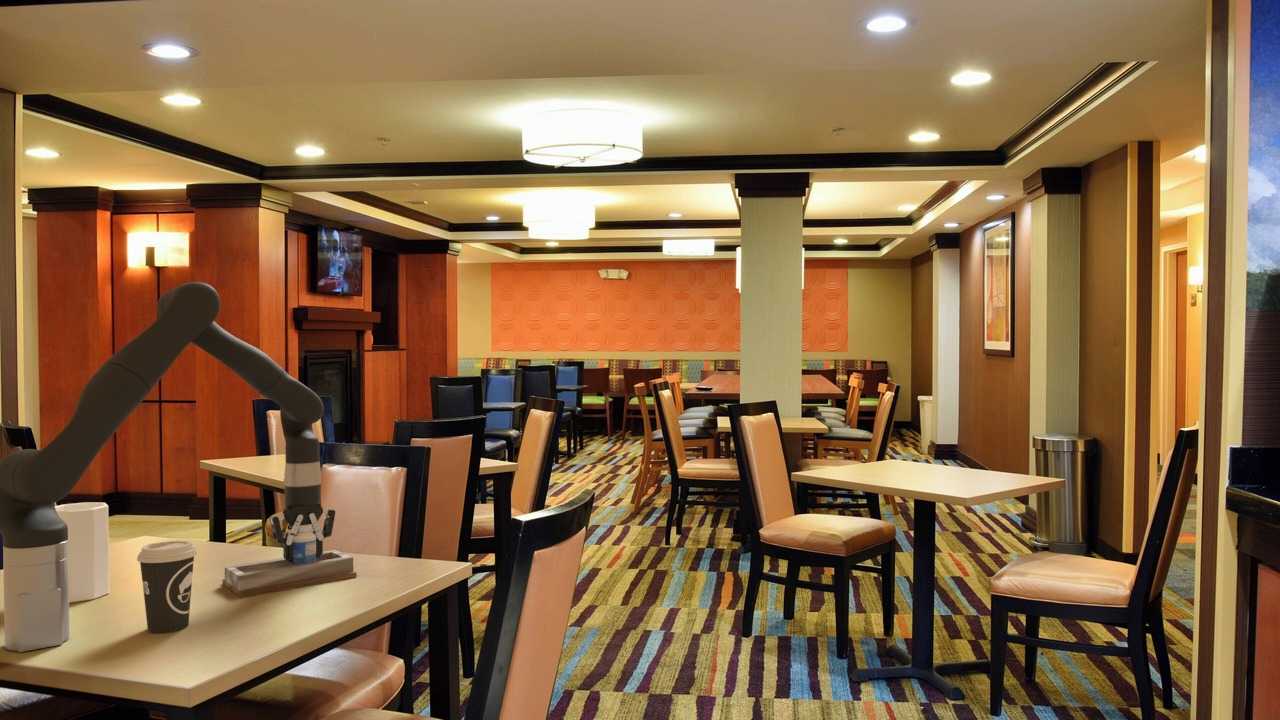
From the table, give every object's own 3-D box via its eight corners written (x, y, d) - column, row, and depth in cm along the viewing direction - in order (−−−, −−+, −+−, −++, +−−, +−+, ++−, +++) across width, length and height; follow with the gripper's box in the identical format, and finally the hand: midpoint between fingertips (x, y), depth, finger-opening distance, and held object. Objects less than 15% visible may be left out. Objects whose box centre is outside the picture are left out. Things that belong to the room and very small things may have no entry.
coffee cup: (184, 616, 165) (182, 537, 165) (207, 626, 159) (206, 543, 159) (129, 629, 158) (127, 546, 157) (151, 639, 152) (150, 553, 151)
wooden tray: (356, 577, 193) (356, 558, 193) (241, 597, 178) (241, 577, 178) (332, 565, 204) (332, 548, 204) (222, 583, 188) (222, 565, 188)
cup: (36, 606, 173) (35, 512, 173) (58, 591, 184) (56, 503, 184) (100, 601, 176) (99, 509, 176) (117, 587, 187) (116, 500, 187)
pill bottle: (284, 569, 192) (284, 524, 192) (304, 564, 196) (304, 520, 196) (302, 572, 189) (301, 526, 189) (321, 566, 194) (321, 522, 194)
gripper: (274, 487, 185) (275, 567, 185) (341, 481, 194) (342, 557, 194) (263, 484, 191) (264, 561, 191) (328, 477, 200) (329, 551, 200)
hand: (303, 558), depth 193 cm, fingers closed on pill bottle, 5 cm apart
